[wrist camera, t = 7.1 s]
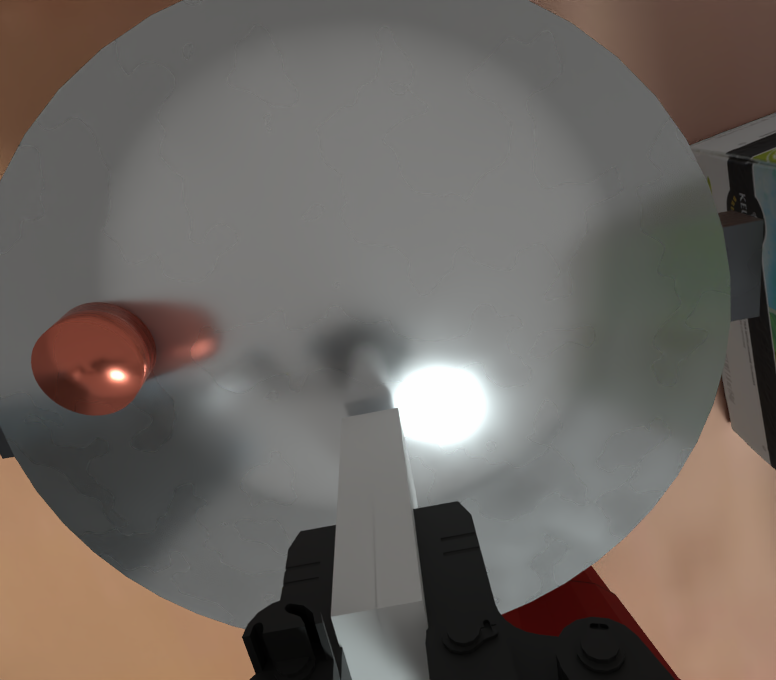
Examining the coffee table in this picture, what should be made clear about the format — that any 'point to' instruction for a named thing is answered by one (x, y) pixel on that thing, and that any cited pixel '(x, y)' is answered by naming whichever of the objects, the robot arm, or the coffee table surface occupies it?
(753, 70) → the coffee table surface
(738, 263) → the grey pot
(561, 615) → the plastic cup
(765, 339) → the tea box
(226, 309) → the cooker lid
